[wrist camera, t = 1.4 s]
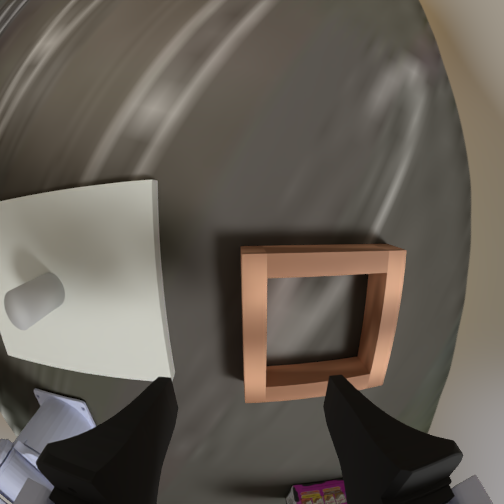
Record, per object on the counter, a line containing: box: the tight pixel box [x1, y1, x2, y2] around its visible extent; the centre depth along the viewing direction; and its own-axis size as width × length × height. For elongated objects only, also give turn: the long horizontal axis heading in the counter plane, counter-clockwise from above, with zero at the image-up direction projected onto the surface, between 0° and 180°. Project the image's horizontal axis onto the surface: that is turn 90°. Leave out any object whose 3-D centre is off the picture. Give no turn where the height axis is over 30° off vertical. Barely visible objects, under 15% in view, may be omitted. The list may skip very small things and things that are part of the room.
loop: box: [240, 244, 406, 403], centre depth 21 cm, size 12×12×3 cm
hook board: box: [0, 179, 175, 381], centre depth 17 cm, size 16×20×6 cm
